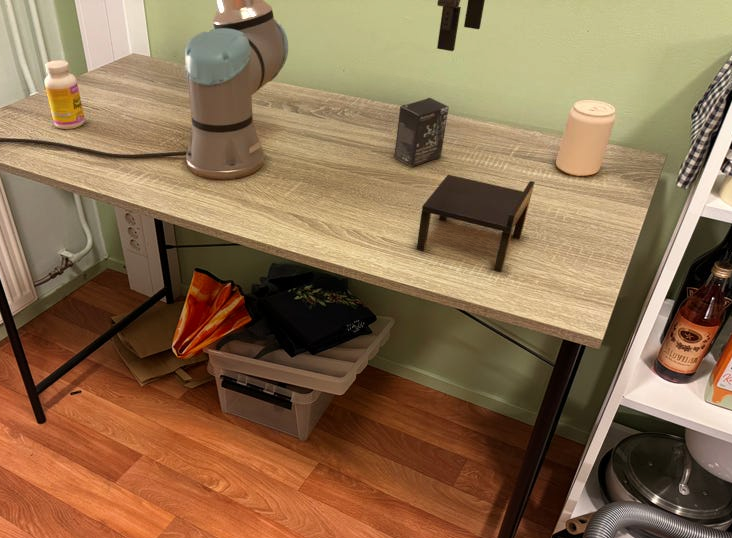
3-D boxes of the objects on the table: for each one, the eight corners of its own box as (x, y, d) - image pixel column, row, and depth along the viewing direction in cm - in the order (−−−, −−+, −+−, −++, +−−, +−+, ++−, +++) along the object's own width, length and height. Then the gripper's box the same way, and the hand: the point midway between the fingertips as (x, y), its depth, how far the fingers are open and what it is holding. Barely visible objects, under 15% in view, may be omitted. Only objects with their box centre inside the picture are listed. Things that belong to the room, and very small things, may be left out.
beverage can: (550, 159, 135) (566, 99, 127) (591, 159, 135) (609, 99, 127) (561, 178, 129) (578, 116, 121) (604, 178, 129) (624, 116, 121)
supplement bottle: (81, 130, 148) (68, 69, 139) (51, 130, 148) (36, 69, 140) (88, 117, 153) (76, 58, 144) (59, 118, 153) (45, 58, 145)
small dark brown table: (416, 249, 111) (424, 193, 104) (441, 216, 119) (449, 163, 112) (500, 272, 106) (514, 215, 99) (521, 236, 114) (534, 181, 107)
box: (412, 168, 133) (418, 114, 126) (393, 157, 137) (398, 105, 129) (441, 158, 136) (449, 105, 129) (422, 148, 140) (429, 96, 133)
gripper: (481, -97, 93) (455, 63, 107) (529, -120, 109) (501, 22, 123) (429, -102, 96) (411, 55, 110) (484, -123, 112) (462, 16, 126)
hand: (459, 38), depth 117 cm, fingers open, 13 cm apart
